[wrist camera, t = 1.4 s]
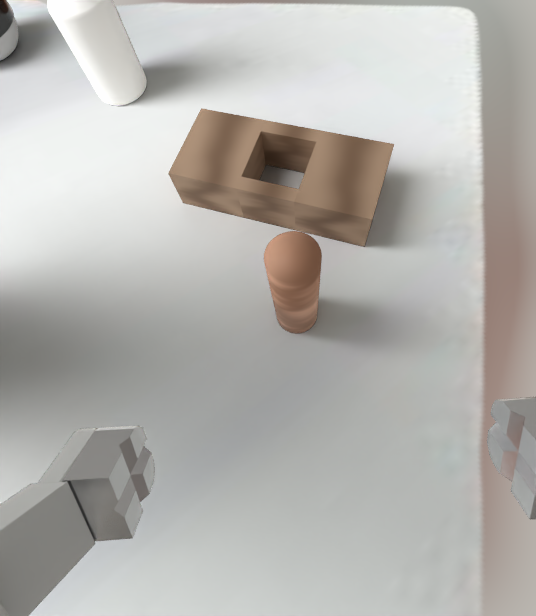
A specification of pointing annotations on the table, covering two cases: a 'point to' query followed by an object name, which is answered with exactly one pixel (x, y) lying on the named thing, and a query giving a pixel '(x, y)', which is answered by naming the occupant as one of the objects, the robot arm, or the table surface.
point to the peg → (294, 279)
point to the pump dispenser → (7, 30)
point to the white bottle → (101, 48)
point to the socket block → (289, 155)
